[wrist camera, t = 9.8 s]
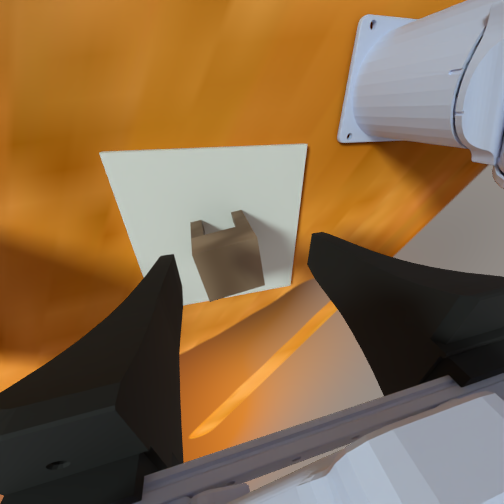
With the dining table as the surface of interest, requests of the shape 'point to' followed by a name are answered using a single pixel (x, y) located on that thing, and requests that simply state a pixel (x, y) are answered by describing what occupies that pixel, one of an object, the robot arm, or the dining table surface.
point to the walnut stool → (227, 258)
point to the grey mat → (209, 203)
